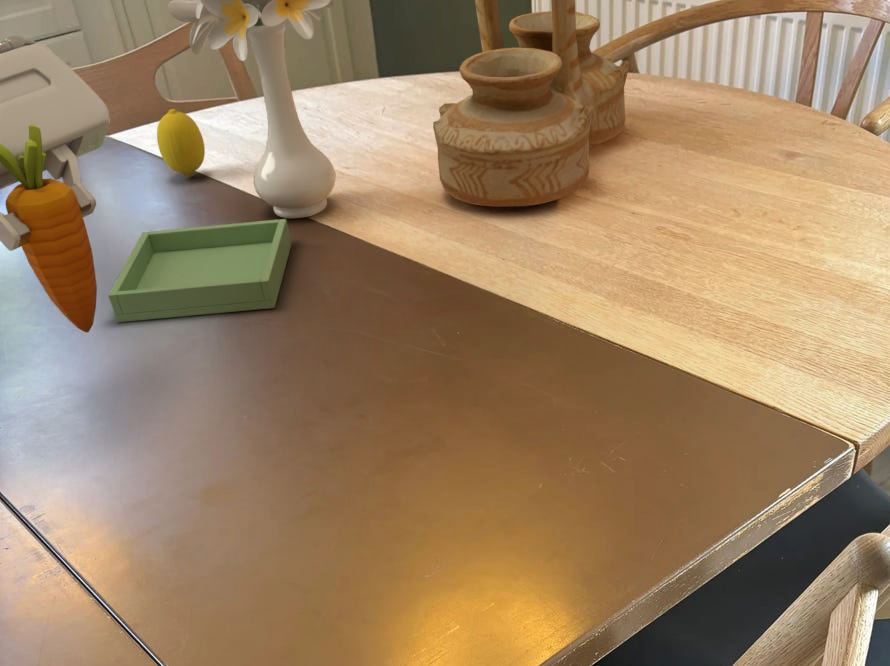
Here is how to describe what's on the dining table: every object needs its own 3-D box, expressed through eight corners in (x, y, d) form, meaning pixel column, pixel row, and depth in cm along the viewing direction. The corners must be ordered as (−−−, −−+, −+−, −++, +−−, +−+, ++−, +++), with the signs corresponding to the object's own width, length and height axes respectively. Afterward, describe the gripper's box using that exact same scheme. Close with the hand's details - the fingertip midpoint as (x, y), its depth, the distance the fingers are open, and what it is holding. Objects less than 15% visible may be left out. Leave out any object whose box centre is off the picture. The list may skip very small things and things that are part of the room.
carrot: (58, 352, 78) (-19, 147, 68) (52, 326, 82) (-24, 127, 72) (123, 337, 80) (56, 133, 69) (113, 312, 83) (48, 114, 73)
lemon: (177, 170, 131) (158, 103, 126) (217, 168, 131) (200, 101, 125) (161, 186, 128) (142, 117, 122) (203, 184, 127) (185, 115, 121)
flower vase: (253, 186, 125) (197, -57, 108) (389, 193, 119) (353, -62, 102) (196, 227, 116) (127, -30, 99) (340, 237, 110) (292, -34, 93)
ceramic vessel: (580, 220, 108) (576, -59, 91) (419, 214, 113) (387, -51, 96) (641, 118, 132) (647, -121, 114) (505, 116, 137) (491, -112, 119)
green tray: (117, 322, 99) (107, 295, 97) (150, 257, 111) (142, 232, 109) (274, 308, 99) (268, 280, 97) (291, 244, 110) (286, 218, 108)
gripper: (24, 60, 81) (145, 204, 83) (-218, 141, 69) (-68, 306, 71) (40, -1, 76) (169, 153, 78) (-217, 74, 64) (-56, 254, 66)
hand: (55, 227), depth 75 cm, fingers closed on carrot, 5 cm apart
